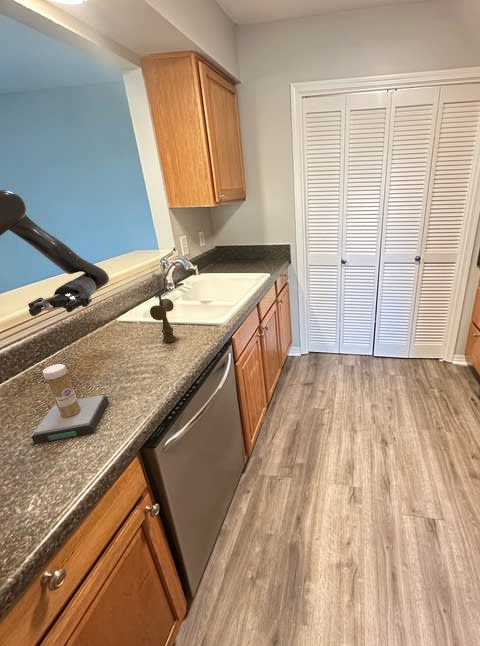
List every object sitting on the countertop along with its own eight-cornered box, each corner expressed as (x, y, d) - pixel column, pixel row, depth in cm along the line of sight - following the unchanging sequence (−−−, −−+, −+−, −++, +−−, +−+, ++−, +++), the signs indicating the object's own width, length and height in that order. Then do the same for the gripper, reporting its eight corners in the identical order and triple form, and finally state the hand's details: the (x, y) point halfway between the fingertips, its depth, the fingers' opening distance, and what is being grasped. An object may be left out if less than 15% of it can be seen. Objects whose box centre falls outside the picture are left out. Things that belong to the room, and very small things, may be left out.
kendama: (157, 346, 124) (145, 297, 116) (166, 336, 133) (156, 289, 125) (173, 346, 124) (161, 296, 116) (181, 335, 133) (171, 288, 125)
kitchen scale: (33, 445, 78) (29, 435, 77) (58, 410, 90) (54, 402, 89) (92, 434, 80) (89, 424, 79) (108, 402, 92) (106, 393, 91)
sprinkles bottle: (70, 419, 81) (52, 373, 76) (56, 417, 82) (37, 372, 77) (85, 408, 86) (69, 363, 80) (71, 406, 87) (54, 362, 81)
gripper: (44, 284, 99) (14, 300, 84) (95, 279, 101) (75, 294, 87) (52, 307, 101) (24, 327, 87) (102, 302, 104) (83, 320, 90)
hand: (50, 310), depth 87 cm, fingers open, 8 cm apart
